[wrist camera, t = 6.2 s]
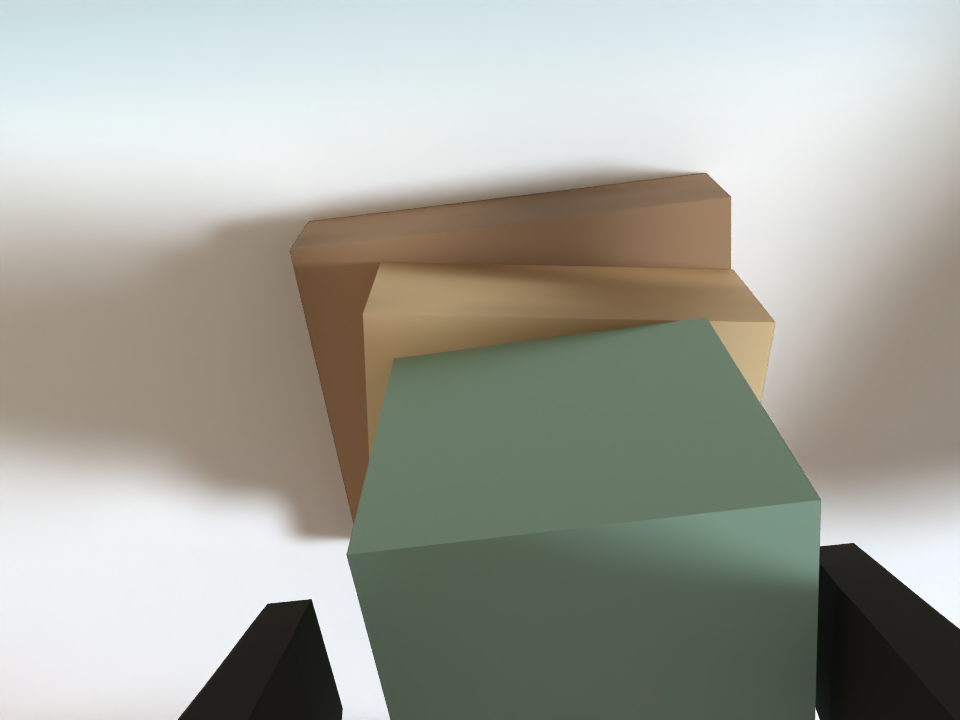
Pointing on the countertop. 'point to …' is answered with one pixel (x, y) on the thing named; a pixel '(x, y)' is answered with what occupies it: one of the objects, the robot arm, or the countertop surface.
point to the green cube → (587, 536)
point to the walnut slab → (488, 240)
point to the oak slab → (547, 311)
